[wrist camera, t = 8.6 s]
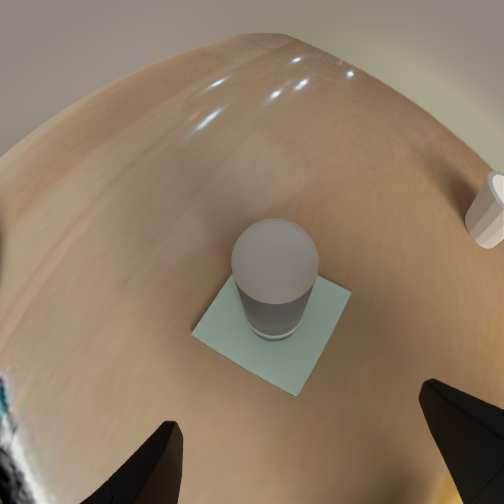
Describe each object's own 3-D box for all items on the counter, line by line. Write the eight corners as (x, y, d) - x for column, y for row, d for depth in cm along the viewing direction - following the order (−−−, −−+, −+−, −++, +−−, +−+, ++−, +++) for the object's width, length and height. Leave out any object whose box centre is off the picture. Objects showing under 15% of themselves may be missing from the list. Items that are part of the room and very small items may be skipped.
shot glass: (459, 238, 26) (490, 201, 20) (461, 197, 29) (486, 160, 23) (499, 262, 24) (533, 231, 18) (499, 220, 27) (526, 188, 21)
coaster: (350, 294, 24) (351, 292, 24) (296, 397, 20) (296, 397, 20) (253, 246, 27) (253, 243, 27) (192, 335, 23) (190, 334, 23)
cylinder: (311, 304, 23) (343, 223, 13) (284, 352, 22) (298, 309, 11) (263, 280, 25) (256, 185, 14) (235, 325, 23) (202, 258, 12)
